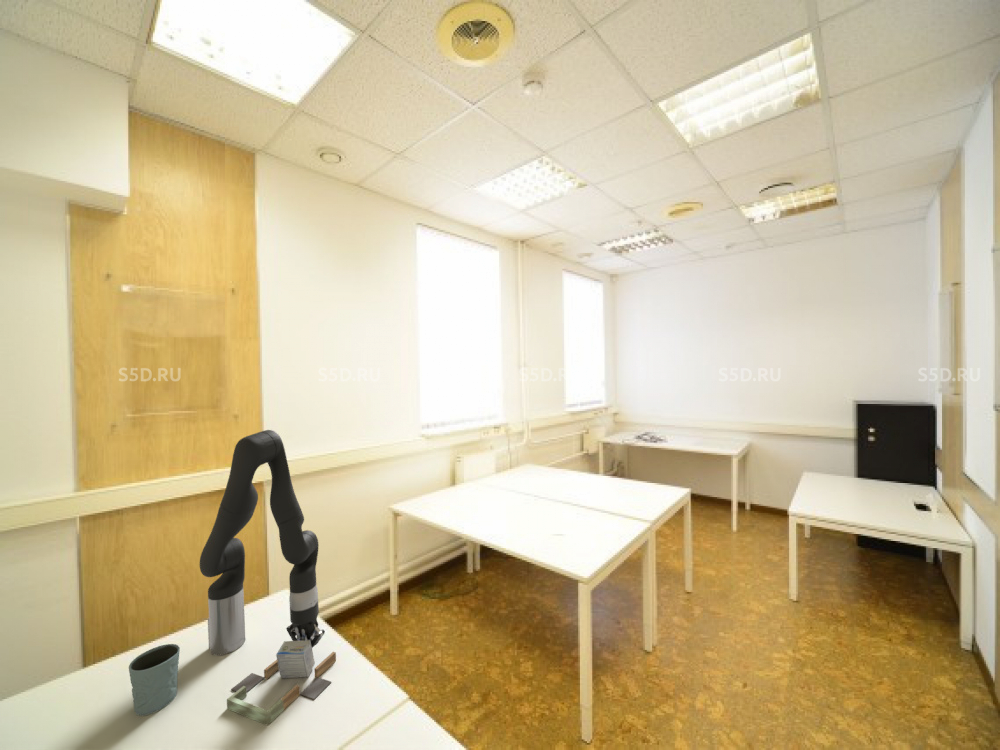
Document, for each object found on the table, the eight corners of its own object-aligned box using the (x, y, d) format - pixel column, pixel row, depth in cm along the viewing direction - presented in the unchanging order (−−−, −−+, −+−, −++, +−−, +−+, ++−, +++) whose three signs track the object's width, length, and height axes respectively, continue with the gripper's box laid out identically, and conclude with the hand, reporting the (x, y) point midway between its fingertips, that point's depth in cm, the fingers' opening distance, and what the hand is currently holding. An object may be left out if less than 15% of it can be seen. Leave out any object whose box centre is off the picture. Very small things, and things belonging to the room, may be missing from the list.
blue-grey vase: (121, 722, 98) (119, 675, 98) (145, 690, 108) (143, 647, 108) (169, 711, 101) (167, 665, 101) (188, 681, 111) (186, 639, 111)
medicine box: (315, 663, 115) (311, 639, 113) (308, 678, 111) (304, 653, 109) (288, 664, 115) (283, 640, 113) (280, 679, 111) (275, 654, 109)
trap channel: (214, 703, 103) (213, 694, 103) (287, 645, 124) (287, 638, 124) (282, 731, 94) (282, 721, 94) (349, 664, 115) (349, 656, 115)
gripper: (276, 605, 114) (279, 663, 115) (311, 613, 110) (314, 674, 110) (297, 591, 121) (300, 646, 122) (331, 598, 117) (333, 655, 117)
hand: (306, 659), depth 116 cm, fingers closed
